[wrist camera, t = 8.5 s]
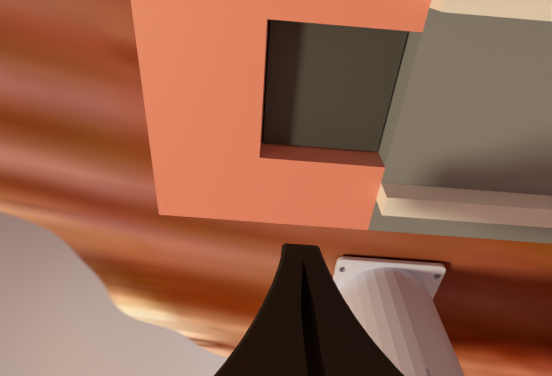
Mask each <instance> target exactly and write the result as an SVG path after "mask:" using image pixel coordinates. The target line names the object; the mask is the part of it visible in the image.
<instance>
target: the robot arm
mask: <svg viewBox="0 0 552 376" xmlns="http://www.w3.org/2000/svg"><path fill="white" fill-rule="evenodd" d="M341 267H345V268H341ZM445 272H446V268H445V266H444V265H443V264H441V263H429V262H415V261H401V260H387V259H373V258H360V257H346V256H344V257H340V258H338V259H337V262H336V266H335V270H334V275H333V278H332V276H331V274H330V272H329V270H328V268H327V266H326V263H325V261H324V259H323V256H322V254H321V251H320V248H319V247H318V246H313V245H299V244H284V245H282V252H281V259H280V263H279V266H278V269H277V272H276V275H275V277H274V280H273V283H272V285H271V287H270V290H269V292H268V294H267V296H266V298H265V300H264V302H263V304H262V306H261V308H260V310H259V312H258V314H257V315H256V317H255V319H254V321H253V322H252V324H251V326H250V327H249V329H248V330H247V332H246V334H245V335H244V337H243V338H242V340H241V341H240V343H239V344H238V345H237V347H236V348H235V349H234V351H233V352H232V354H231V355H230V356H229V358H228V359H227V360H226V362H225V363H224V364H223V365H222V367H221V368H220V369H219V370H218V371H217V373H216V374H215V375H214V376H465V375H464V373H463V371H462V368H461V366H460V364H459V361H458V359H457V357H456V354H455V352H454V350H453V347H452V345H451V343H450V340H449V338H448V335H447V333H446V331H445V328H444V326H443V324H442V321H441V319H440V317H439V314H438V312H437V310H436V307H435V305H434V302H433V298H434V296H435V294H436V292H437V289H438V287H439V285H440V283H441V281H442V279H443V277H444V275H445ZM436 274H437V275H436Z"/></svg>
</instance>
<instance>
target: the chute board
mask: <svg viewBox="0 0 552 376" xmlns="http://www.w3.org/2000/svg"><path fill="white" fill-rule="evenodd" d="M131 6H132V13H133V21H134V28H135V36H136V44H137V51H138V59H139V66H140V74H141V81H142V89H143V96H144V104H145V112H146V119H147V127H148V134H149V142H150V149H151V157H152V164H153V172H154V180H155V187H156V195H157V202H158V210H159V215H172V216H186V217H199V218H213V219H226V220H240V221H253V222H267V223H280V224H294V225H308V226H321V227H335V228H348V229H362V230H375V231H389V232H402V233H416V234H429V235H443V236H457V237H470V238H484V239H497V240H511V241H524V242H538V243H551V244H552V0H131ZM269 19H270V36H269V53H268V70H267V86H266V103H265V120H264V137H263V142H262V127H263V110H264V92H265V75H266V57H267V39H268V22H269ZM405 41H406V42H405ZM404 45H405V46H404ZM394 84H395V85H394ZM384 123H385V124H384ZM383 127H384V128H383Z"/></svg>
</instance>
